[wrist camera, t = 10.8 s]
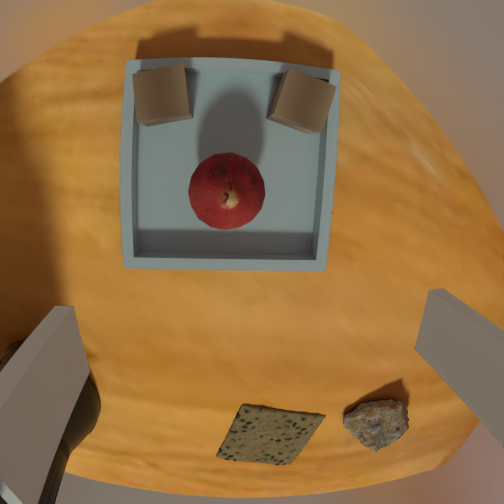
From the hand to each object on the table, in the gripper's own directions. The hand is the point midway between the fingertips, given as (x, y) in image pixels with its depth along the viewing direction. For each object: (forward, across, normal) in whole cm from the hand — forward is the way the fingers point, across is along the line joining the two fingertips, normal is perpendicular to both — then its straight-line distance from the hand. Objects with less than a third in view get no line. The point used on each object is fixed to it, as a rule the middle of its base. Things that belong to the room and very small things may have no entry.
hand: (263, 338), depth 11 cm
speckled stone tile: (+20, +5, -29) cm, 36 cm away
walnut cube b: (+19, +6, +11) cm, 22 cm away
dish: (+20, 0, +5) cm, 20 cm away
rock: (+20, +20, -28) cm, 40 cm away
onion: (+19, 0, +3) cm, 19 cm away
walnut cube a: (+19, -6, +11) cm, 23 cm away
